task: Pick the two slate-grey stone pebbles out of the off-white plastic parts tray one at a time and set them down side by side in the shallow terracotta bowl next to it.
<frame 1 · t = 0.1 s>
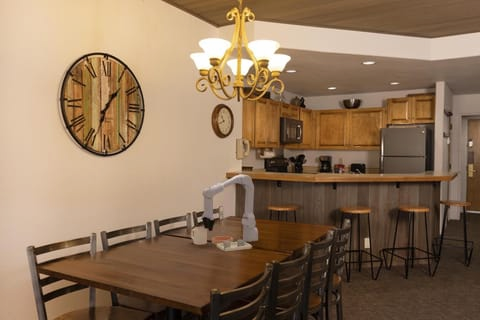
hand: (208, 229, 240), 10 cm above the table, tool pointing down, fingers open, 7 cm apart
pebble b: (227, 248, 231), point 1 cm above the table, touching tray
bowl: (222, 243, 245), on the table
tray: (234, 248, 233), on the table
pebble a: (240, 246, 235), point 1 cm above the table, touching tray
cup: (198, 244, 245), on the table, touching gripper
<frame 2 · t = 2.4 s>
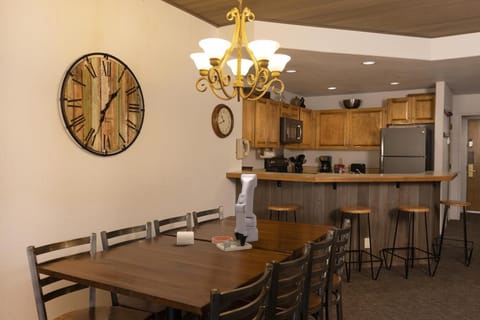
hand: (240, 245, 235), 2 cm above the table, tool pointing down, fingers closed on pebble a, 4 cm apart
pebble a: (240, 246, 235), point 1 cm above the table, touching gripper, tray
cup: (193, 239, 245), point 3 cm above the table
everything else where it was.
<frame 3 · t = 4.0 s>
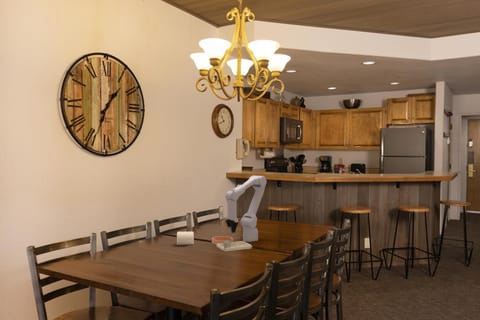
hand: (231, 231, 241), 8 cm above the table, tool pointing down, fingers closed on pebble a, 4 cm apart
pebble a: (231, 233, 241), point 8 cm above the table, touching gripper
everything else where it was.
when the fingers open (4 cm above the table, at t = 5.6 s): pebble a drops 3 cm, resting on bowl.
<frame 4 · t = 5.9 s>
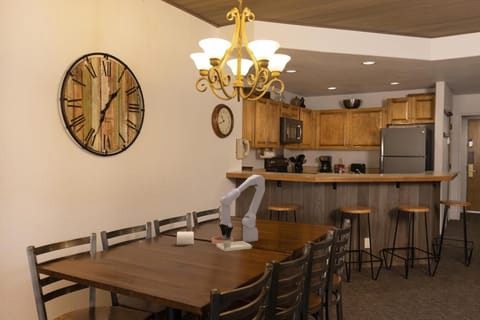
hand: (226, 236, 246), 4 cm above the table, tool pointing down, fingers open, 7 cm apart
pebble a: (225, 242, 246), point 1 cm above the table, touching bowl
everything else where it was.
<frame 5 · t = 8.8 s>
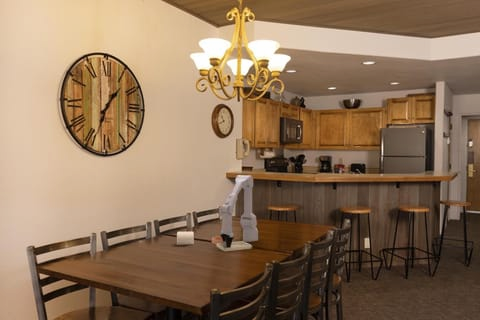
hand: (227, 246, 231), 2 cm above the table, tool pointing down, fingers closed on pebble b, 4 cm apart
pebble b: (227, 248, 231), point 1 cm above the table, touching gripper, tray
everything else where it was.
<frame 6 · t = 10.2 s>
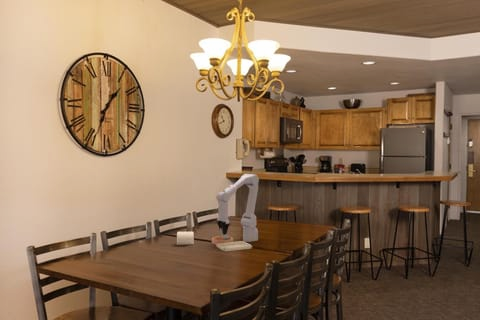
hand: (223, 233, 237), 8 cm above the table, tool pointing down, fingers closed on pebble b, 4 cm apart
pebble b: (223, 234, 237), point 8 cm above the table, touching gripper
everything else where it was.
when the fingers open (4 cm above the table, at t = 11.9 s): pebble b drops 3 cm, resting on bowl.
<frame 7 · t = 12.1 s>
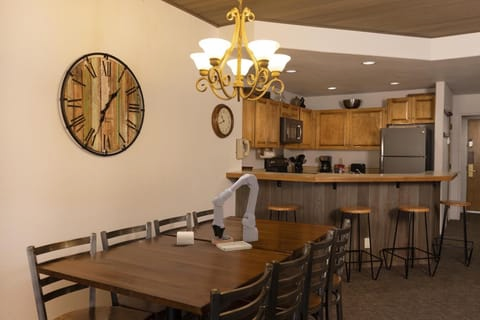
hand: (218, 237, 244), 4 cm above the table, tool pointing down, fingers open, 6 cm apart
pebble b: (218, 242, 244), point 1 cm above the table, touching bowl
everything else where it was.
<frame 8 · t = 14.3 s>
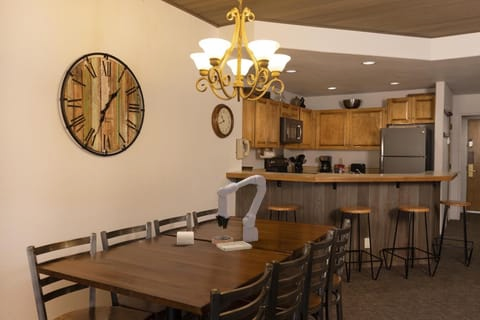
hand: (222, 227, 247), 10 cm above the table, tool pointing down, fingers open, 7 cm apart
nothing on the table moved.
at the end: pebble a inside the target area on the bowl (2.6 cm from its centre), point 0.8 cm above the bowl's base; pebble b inside the target area on the bowl (2.7 cm from its centre), point 0.8 cm above the bowl's base; the gripper is holding nothing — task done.
